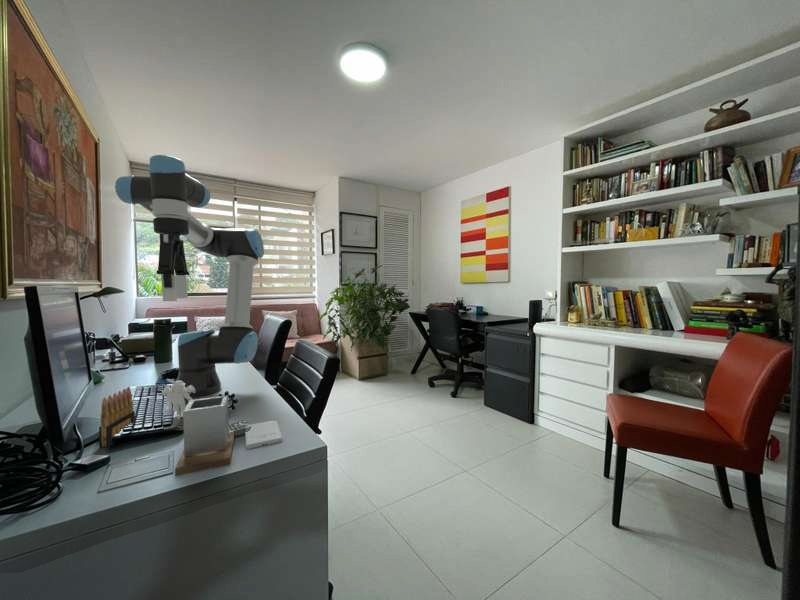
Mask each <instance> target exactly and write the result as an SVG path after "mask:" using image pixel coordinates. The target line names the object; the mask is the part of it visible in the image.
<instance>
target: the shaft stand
mask: <svg viewBox="0 0 800 600" xmlns="http://www.w3.org/2000/svg"><path fill="white" fill-rule="evenodd" d="M234 442H235V437H234V433H231V434H229V438H228V443H227V448H226V449H225V450H220V451H214V452H209V453H204V454H198V455H193V456H187V457H184V449H183V450H182V452H181V455H180V457H179V458H178V461H177V463H176V465H175V468H174V475H175V476H179V475H183V474H189V473H193V472H194V473H196V472H198V471H203V470H208V469H213V468H219V467H223V466H228V465H231V463H232V456H233V450H234Z"/></svg>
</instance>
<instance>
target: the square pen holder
mask: <svg viewBox="0 0 800 600" xmlns="http://www.w3.org/2000/svg"><path fill="white" fill-rule="evenodd" d="M228 400H229V397H228V395H227V396H224V395H222V396H219V397H217V396H212V397H204V398H197V399H193V400H190V401H189V400H188V403H187V404H186V408H185V409H184V411H183V450H184V457H187V456H193V455H198V454H204V453H209V452H214V451H220V450H225V449H226V448H227V443H228V438H229V430H230V425H229V423H230V422H229V421H230V417H229V412H230V411H229V412H228V407H229V405H228Z"/></svg>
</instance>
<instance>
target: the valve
mask: <svg viewBox="0 0 800 600" xmlns="http://www.w3.org/2000/svg"><path fill="white" fill-rule="evenodd" d="M229 392H230V391H228V390H226V391H224V392H223V394H224V395H223V394H222V393H219V394H217V396H216V397H219V396H227V395H228V412H230V409H231V411H234V410H236V407H237V406H236V405H235V404H237V403H239V400H238V399H237V398H235V397H236V393H233V392H232V393H231V395H230V393H229ZM230 402H231V404H230Z"/></svg>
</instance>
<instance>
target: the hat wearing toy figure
mask: <svg viewBox="0 0 800 600" xmlns="http://www.w3.org/2000/svg"><path fill="white" fill-rule="evenodd" d="M165 380H166V381H167V383H170V384H171V385H167V386H166V387H163V389H162V390H161V395H163V396H164V397H166V398H165V406H167V407H168V406H169V405H171V404H172V412H173V411H174V412H175V411H178V412H179V408H180V412H183V411H184V409H185V408H186V406H187V404H186V401H188V402H189V401H190V400H194V399H193V397H192V398H191V397H190V396H189V394H190V393H191V392H193V393H195V392H194V391H195V389H194V386H191V385H192V384H191V385H189V387H188V386H187V388H185V383H184V382H183V381H180V380H178V381H177V380H176V381H175V379H174V378H172V379H171V378H166V379H165ZM182 382H183V383H182ZM170 386H171V387H170ZM188 392H190V393H188ZM185 400H186V401H185Z"/></svg>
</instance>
